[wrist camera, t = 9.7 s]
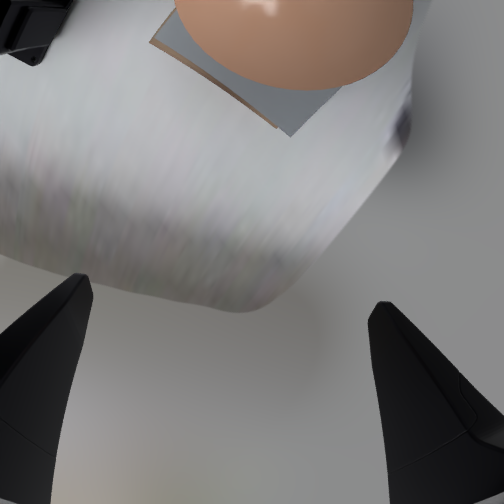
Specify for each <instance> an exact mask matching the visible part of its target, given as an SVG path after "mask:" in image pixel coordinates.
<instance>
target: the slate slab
mask: <svg viewBox="0 0 504 504" xmlns="http://www.w3.org/2000/svg"><path fill="white" fill-rule="evenodd" d="M154 38H155V39H157V40H159V41H160V42H162V43H163V44H165V45H167V46H168V47H170V48H171V49H173V50H174V51H176V52H177V53H179V54H181V55H182V56H184V57H185V58H187V59H188V60H190V61H191V62H193V63H194V64H195V65H197V66H198V67H200V68H201V69H203V70H204V71H206V72H207V73H208V74H210V75H211V76H213V77H214V78H215V79H217V80H218V81H220V82H221V83H222V84H224V85H225V86H226V87H228V88H229V89H230V90H232V91H233V92H234V93H236V94H237V95H238V96H240V97H241V98H242V99H244V100H245V101H246V102H248V103H249V104H250V105H251V106H253V107H254V108H255V109H256V110H258V111H259V112H260V113H261V114H263V115H264V116H265V117H266V118H268V119H269V120H270V121H271V122H273V123H274V124H275V125H276V126H277V127H279V128H280V129H281V130H282V131H283V132H285V133H286V134H287V135H288V136H289V137H291V136H292V135H293V134H294V133H295V132H296V131H297V130H298V129H299V128H300V127H301V126H302V125H303V124H304V123H305V122H306V121H307V120H308V119H309V118H310V117H311V116H312V115H313V114H314V113H315V112H316V111H317V110H318V109H319V108H320V107H321V106H322V105H323V104H324V103H325V102H327V101H328V100H329V99H330V98H331V97H332V96H333V95H334V94H335V93H336V92H337V91H338V90H339V89H340V88H341V87H342V86H340V87H337V88H330V89H324V90H309V91H304V90H289V89H283V88H276V87H272V86H268V85H264V84H261V83H257V82H255V81H252V80H250V79H247V78H244V77H242V76H240V75H238V74H236V73H234V72H232V71H230V70H229V69H227V68H226V67H224V66H223V65H221V64H219V63H218V62H216V61H215V60H214V59H213V58H212V57H210V56H209V55H208V54H207V53H205V52H204V51H203V50H202V48H201V47H200V46H199V45H198V44H197V43H196V42H195V41H194V40H193V38H192V37H191V36H190V34H189V33H188V31H187V30H186V28H185V27H184V25H183V23H182V21H181V19H180V17H179V14H178V11H177V10H176V11H175V12H174V13H173V14H172V16H171V17H170V18H169V19H168V20H167V22H166V23H165V24H164V25H163V26H162V28H161V29H160V30H159V32H158V33H157V34H156V35H155V37H154Z"/></svg>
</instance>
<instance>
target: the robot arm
mask: <svg viewBox="0 0 504 504" xmlns="http://www.w3.org/2000/svg"><path fill="white" fill-rule="evenodd" d="M72 2H73V0H0V55H3V54H9V55H11V56H13V57H15V58H17V59H19V60H20V61H22V62H24V63H26V64H28V65H30V66H36V65H38V64H40V62H41V60H42V58H43V56H44V54H45V52H46V50H47V47H48V45H49V44H50V43H51V41H52V39H53V38H54V36H55V34H56V32H57V30H58V28H59V26H60V24H61V23H62V21H63V19H64V17H65V15H66V14H67V10H68V8H69V7H70V5H71V3H72ZM35 57H36V61H34V58H35ZM92 302H93V292H92V288H91V285H90V281H89V278H88V276H87V275H86V274H81V273H74V274H73V275H71V276H70V277H69V278H67V279H66V280H65V281H63V283H61V284H60V285H58V286H57V287H56V288H55V289H53V290H52V291H51V292H49V293H48V294H47V295H46V296H44V297H43V298H42V299H41V300H40V301H38V302H37V303H36V304H35V305H33V306H32V307H31V308H30V309H29V310H27V311H26V312H25V313H24V314H23V315H22V316H20V317H19V318H18V319H17V320H16V321H15V322H13V323H12V324H11V325H10V326H9V327H8V328H7V329H5V330H4V331H3V332H2V333H1V334H0V504H50V502H51V492H52V484H53V483H52V482H53V475H54V469H55V462H56V455H57V449H58V444H59V438H60V433H61V428H62V423H63V419H64V414H65V410H66V405H67V401H68V397H69V393H70V389H71V385H72V382H73V377H74V374H75V371H76V367H77V364H78V360H79V357H80V353H81V350H82V347H83V343H84V338H85V334H86V329H87V324H88V320H89V315H90V311H91V307H92ZM368 332H369V341H370V352H371V361H372V369H373V375H374V380H375V385H376V391H377V397H378V403H379V409H380V416H381V423H382V430H383V437H384V445H385V453H386V462H387V472H388V485H389V498H390V504H504V415H502V413H500V412H499V411H498V410H497V409H496V408H495V407H494V406H493V405H492V404H491V403H490V402H489V401H488V400H487V399H486V398H485V397H484V396H483V395H482V394H481V393H479V391H478V390H476V389H475V388H474V386H473V385H472V384H471V383H470V382H469V381H468V380H467V379H466V378H465V377H464V376H463V375H462V374H461V373H460V372H459V371H458V369H457V368H456V367H455V366H454V365H453V364H452V363H451V362H450V361H449V360H448V359H447V358H446V357H445V356H444V355H443V354H442V353H441V351H440V350H439V349H438V348H437V347H436V346H435V345H434V344H433V343H432V342H431V341H430V340H429V339H428V338H427V337H426V336H425V335H424V334H423V333H422V332H421V331H420V330H419V329H418V328H417V327H416V326H415V325H414V324H413V323H412V322H411V321H410V320H409V319H408V318H407V317H406V316H405V315H404V314H403V313H402V312H401V311H400V310H399V309H398V308H397V307H395V305H393V304H392V303H391V302H388V301H387V302H386V301H380V302H378V303H377V305H376V306H375V308H374V310H373V311H372V313H371V315H370V317H369V319H368Z"/></svg>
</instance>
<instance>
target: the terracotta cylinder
mask: <svg viewBox="0 0 504 504" xmlns="http://www.w3.org/2000/svg"><path fill="white" fill-rule="evenodd" d="M174 1H175V5H176V8H177V11H178V14H179V17H180V19H181V21H182V23H183V25H184V27H185V28H186V30H187V31H188V33H189V34H190V36H191V37H192V38H193V40H194V41H195V42H196V43H197V44H198V45H199V46H200V47H201V48H202V50H203V51H204V52H205V53H207V54H208V55H209V56H210V57H212V58H213V59H214V60H215V61H216V62H218V63H219V64H221V65H223V66H224V67H226V68H227V69H229V70H230V71H232V72H234V73H236V74H238V75H240V76H242V77H244V78H247V79H250V80H252V81H255V82H257V83H261V84H264V85H268V86H272V87H276V88H283V89H289V90H304V91H309V90H324V89H330V88H337V87H340V86H344V85H347V84H351V83H353V82H356V81H358V80H360V79H363V78H365V77H367V76H368V75H370V74H372V73H374V72H375V71H377V70H378V69H379V68H381V67H382V66H383V65H384V64H386V63H387V62H388V61H389V60H390V59H391V58H392V57H393V56H394V55H395V53H396V52H397V50H398V49H399V48H400V46H401V45H402V43H403V41H404V39H405V37H406V35H407V33H408V30H409V27H410V24H411V20H412V14H413V0H174Z"/></svg>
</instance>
